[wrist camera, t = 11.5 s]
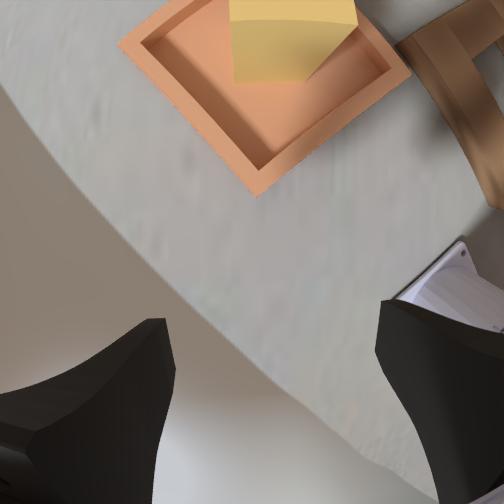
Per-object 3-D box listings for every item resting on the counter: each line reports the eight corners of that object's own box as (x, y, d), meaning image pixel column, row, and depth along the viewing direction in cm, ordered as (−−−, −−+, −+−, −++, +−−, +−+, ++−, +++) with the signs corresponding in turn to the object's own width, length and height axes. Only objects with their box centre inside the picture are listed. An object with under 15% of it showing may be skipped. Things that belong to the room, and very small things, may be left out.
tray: (394, 82, 17) (412, 74, 15) (254, 192, 19) (256, 197, 17) (274, -43, 14) (278, -62, 12) (129, 56, 16) (116, 44, 14)
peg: (298, 23, 15) (340, -60, 7) (304, 82, 16) (357, 25, 8) (230, 24, 15) (225, -65, 7) (234, 84, 16) (229, 21, 8)
